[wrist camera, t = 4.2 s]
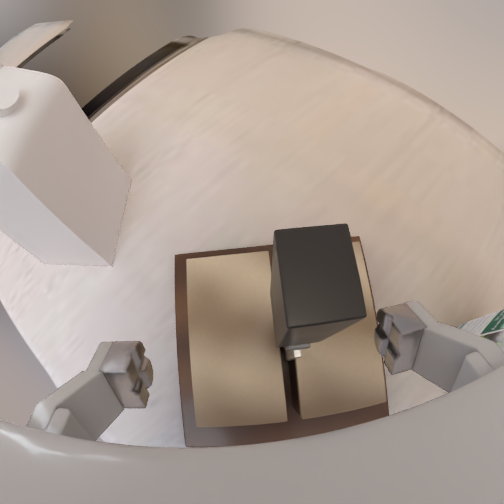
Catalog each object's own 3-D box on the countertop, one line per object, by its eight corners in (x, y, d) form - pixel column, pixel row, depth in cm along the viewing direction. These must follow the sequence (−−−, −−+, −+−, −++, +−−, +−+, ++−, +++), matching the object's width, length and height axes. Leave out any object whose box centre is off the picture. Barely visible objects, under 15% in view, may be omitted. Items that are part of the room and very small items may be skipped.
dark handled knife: (302, 359, 21) (371, 339, 7) (272, 362, 21) (289, 352, 7) (295, 307, 22) (343, 205, 9) (267, 310, 22) (271, 210, 9)
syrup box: (461, 321, 27) (548, 285, 14) (480, 360, 25) (569, 340, 12) (431, 351, 26) (523, 328, 13) (451, 390, 24) (544, 387, 11)
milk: (67, 188, 37) (-32, 61, 13) (131, 180, 36) (39, 12, 12) (44, 264, 32) (-98, 153, 8) (112, 266, 32) (-53, 110, 8)
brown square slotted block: (385, 419, 24) (422, 431, 17) (188, 444, 24) (162, 467, 17) (357, 239, 32) (380, 202, 24) (177, 258, 32) (152, 224, 24)
